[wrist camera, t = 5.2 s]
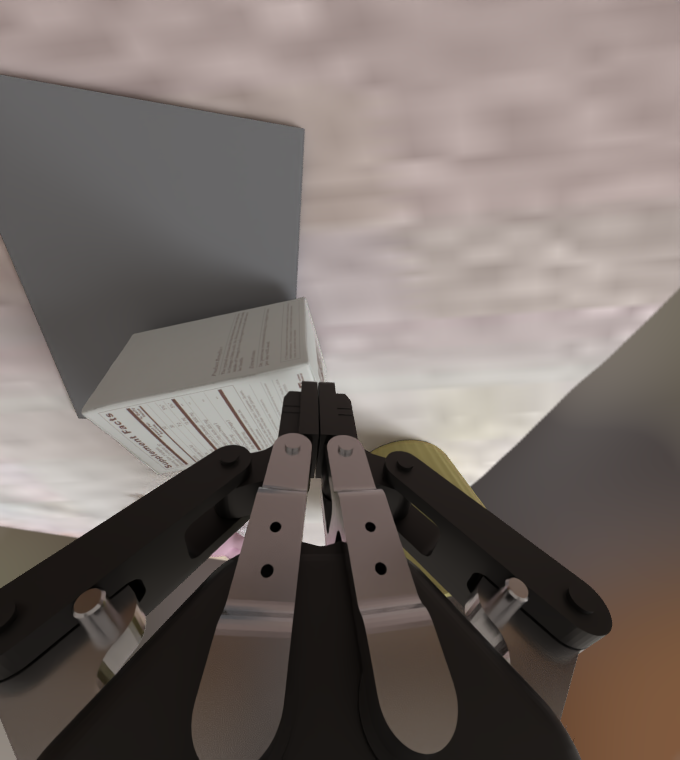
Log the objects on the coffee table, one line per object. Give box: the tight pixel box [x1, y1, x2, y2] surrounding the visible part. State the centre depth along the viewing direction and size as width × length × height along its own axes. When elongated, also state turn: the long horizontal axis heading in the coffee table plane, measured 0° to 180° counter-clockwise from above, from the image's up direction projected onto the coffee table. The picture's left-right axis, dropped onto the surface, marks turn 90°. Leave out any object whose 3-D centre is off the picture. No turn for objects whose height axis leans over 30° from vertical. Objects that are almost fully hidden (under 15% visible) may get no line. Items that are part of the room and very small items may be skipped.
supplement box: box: [81, 297, 326, 475], centre depth 20 cm, size 7×7×13 cm
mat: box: [0, 75, 305, 419], centre depth 21 cm, size 22×18×1 cm
